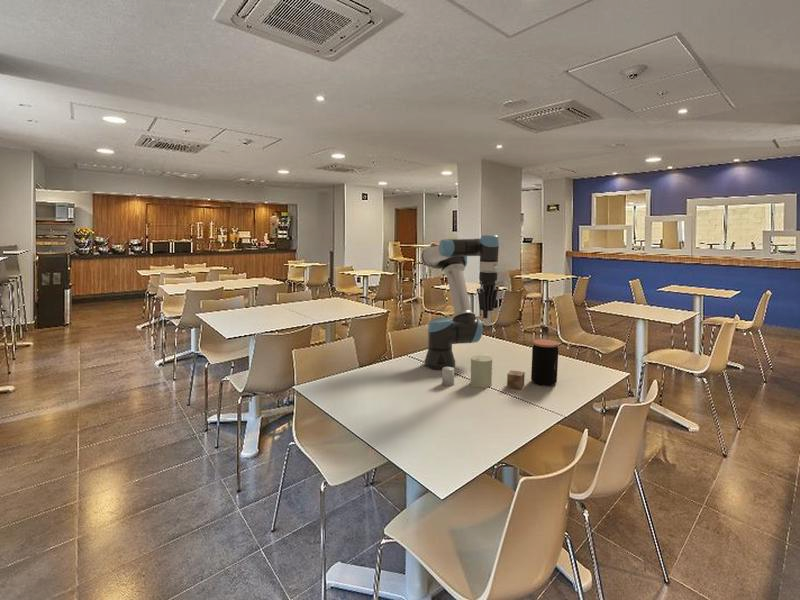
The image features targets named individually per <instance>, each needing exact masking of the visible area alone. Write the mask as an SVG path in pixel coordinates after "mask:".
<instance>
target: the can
mask: <svg viewBox="0 0 800 600" xmlns="http://www.w3.org/2000/svg"><path fill="white" fill-rule="evenodd" d="M492 371H493V357H491V356H488V355H482V354H481V355H480V354H479V355H477V354H476V355H473V356H471V357H470V381H469V383H470V385H471V386H472V387H475V388H480V389H486V388H491V387H492V386H493V383H492V382H493V381H492V379H493V377H492V376H493V372H492Z"/></svg>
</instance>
